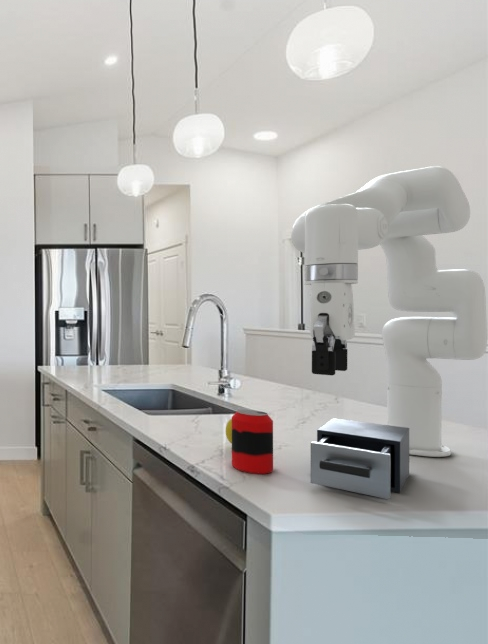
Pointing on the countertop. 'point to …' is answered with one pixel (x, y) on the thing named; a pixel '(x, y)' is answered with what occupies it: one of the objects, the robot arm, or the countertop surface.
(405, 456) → the cabinet
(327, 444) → the drawer
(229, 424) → the lemon
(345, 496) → the countertop surface
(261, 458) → the soda can
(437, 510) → the countertop surface
